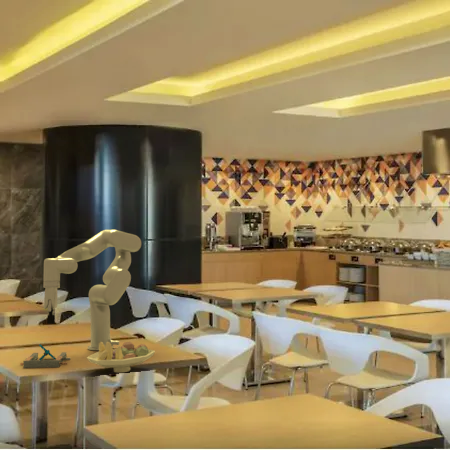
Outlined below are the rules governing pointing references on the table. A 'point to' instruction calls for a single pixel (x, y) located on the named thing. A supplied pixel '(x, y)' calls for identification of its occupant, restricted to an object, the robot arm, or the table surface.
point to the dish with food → (120, 356)
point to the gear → (46, 353)
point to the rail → (44, 361)
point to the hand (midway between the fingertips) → (51, 323)
